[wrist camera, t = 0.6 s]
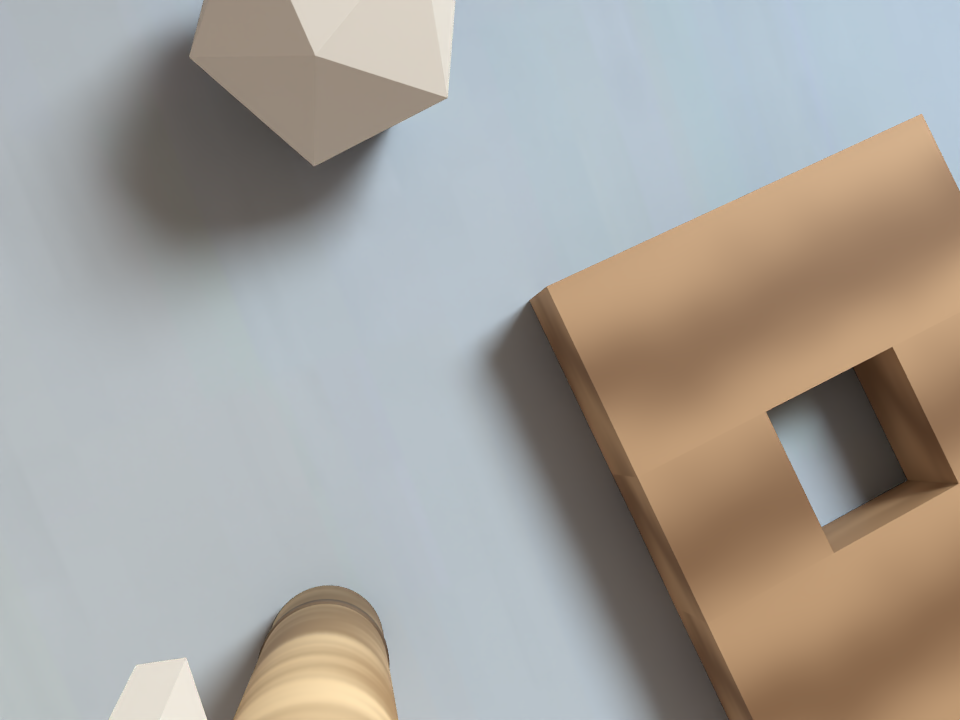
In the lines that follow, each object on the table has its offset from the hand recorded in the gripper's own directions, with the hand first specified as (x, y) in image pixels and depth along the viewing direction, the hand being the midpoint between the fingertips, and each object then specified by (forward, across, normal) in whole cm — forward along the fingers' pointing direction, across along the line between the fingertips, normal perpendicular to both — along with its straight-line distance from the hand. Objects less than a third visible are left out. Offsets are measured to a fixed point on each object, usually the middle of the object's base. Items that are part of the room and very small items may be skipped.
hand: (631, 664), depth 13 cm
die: (+24, -6, +9) cm, 27 cm away
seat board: (+20, +10, -8) cm, 24 cm away
